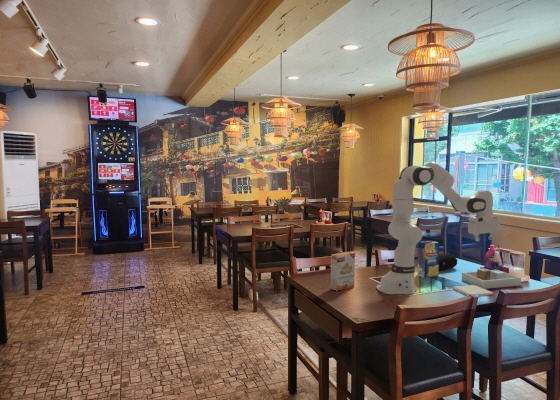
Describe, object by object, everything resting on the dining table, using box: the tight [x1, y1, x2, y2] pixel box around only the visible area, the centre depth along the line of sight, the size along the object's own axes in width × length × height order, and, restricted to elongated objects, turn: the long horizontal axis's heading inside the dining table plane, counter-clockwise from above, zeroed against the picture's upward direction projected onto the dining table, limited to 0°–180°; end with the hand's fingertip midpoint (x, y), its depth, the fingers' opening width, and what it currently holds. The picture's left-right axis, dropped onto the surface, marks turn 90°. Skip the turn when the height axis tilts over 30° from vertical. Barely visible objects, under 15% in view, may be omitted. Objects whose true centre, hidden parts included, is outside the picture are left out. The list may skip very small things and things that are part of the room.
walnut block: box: [476, 268, 491, 281], centre depth 215 cm, size 5×5×8 cm
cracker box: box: [330, 251, 356, 292], centre depth 209 cm, size 14×6×21 cm, turn 123°
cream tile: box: [453, 284, 494, 297], centre depth 201 cm, size 14×14×2 cm
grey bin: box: [461, 269, 522, 290], centre depth 216 cm, size 26×18×5 cm
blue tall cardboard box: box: [417, 240, 440, 278], centre depth 233 cm, size 7×11×22 cm, turn 108°
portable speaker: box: [439, 253, 458, 271], centre depth 247 cm, size 26×10×10 cm, turn 110°
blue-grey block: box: [491, 270, 506, 280], centre depth 217 cm, size 5×5×6 cm
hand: (484, 240), depth 213 cm, fingers open, 8 cm apart
